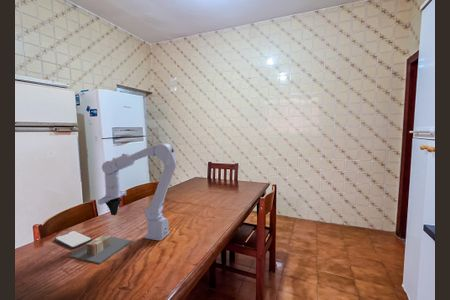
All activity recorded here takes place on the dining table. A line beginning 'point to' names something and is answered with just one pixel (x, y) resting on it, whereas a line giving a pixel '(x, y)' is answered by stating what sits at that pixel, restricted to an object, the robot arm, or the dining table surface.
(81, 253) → the rubber mat
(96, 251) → the maple block
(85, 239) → the phone case
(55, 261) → the dining table surface
